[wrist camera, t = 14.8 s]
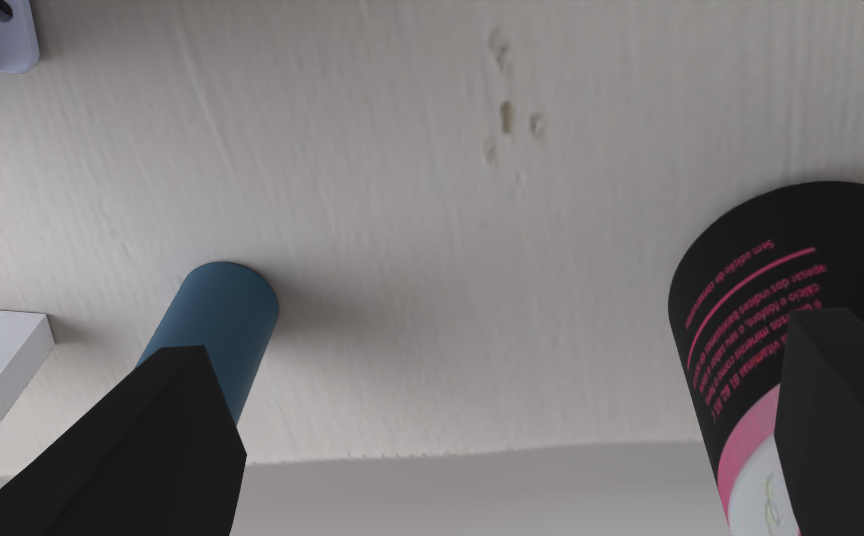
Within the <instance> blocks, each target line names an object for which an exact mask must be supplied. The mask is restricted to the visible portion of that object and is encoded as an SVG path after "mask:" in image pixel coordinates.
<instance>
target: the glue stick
mask: <svg viewBox="0 0 864 536" xmlns="http://www.w3.org/2000/svg"><path fill="white" fill-rule="evenodd" d="M277 318H278V302H277V299H276V296H275V294H274V292H273V290H272V289H271V287H270V286H269V285H268V284H267V282H266V281H265V280H264V279H263V278H261V277H260V276H259V275H257V274H256V273H255V272H253V271H251V270H249V269H247V268H245V267H242V266H239V265H236V264H232V263H224V262H217V263H210V264H206V265H203V266H200V267H198V268H196V269H195V270H193V271H192V272H191V273H190V274H189V275H188V276H187V277H186V279H185V280H184V282H183V284H182V285H181V287H180V289H179V291H178V292H177V294H176V296H175V298H174V299H173V301H172V303H171V305H170V306H169V308H168V310H167V312H166V314H165V315H164V317H163V319H162V321H161V322H160V324H159V326H158V328H157V329H156V331H155V333H154V335H153V336H152V338H151V340H150V342H149V344H148V345H147V347H146V349H145V351H144V352H143V354H142V356H141V358H140V359H139V361H138V363H137V365H136V366H135V368H136V367H138V366H139V365H140V364H141V363H142V362H143V361H145V360H146V359H147V358H148V357H149V356H151V355H152V354H153V353H154V352H155V351H157V350H158V349H159V348H160V347H176V346H193V345H205V348H206V350H207V353H208V356H209V358H210V361H211V363H212V366H213V368H214V371H215V374H216V376H217V379H218V381H219V384H220V387H221V389H222V392H223V394H224V397H225V399H226V402H227V405H228V407H229V410H230V412H231V415H232V417H233V420H234V423H235V425H236V426H237V423H238V421H239V418H240V415H241V413H242V410H243V407H244V405H245V402H246V400H247V397H248V394H249V392H250V389H251V386H252V384H253V381H254V379H255V376H256V373H257V371H258V368H259V365H260V363H261V360H262V358H263V355H264V352H265V350H266V347H267V344H268V342H269V339H270V337H271V334H272V331H273V329H274V326H275V323H276V321H277ZM135 368H134V369H135Z"/></svg>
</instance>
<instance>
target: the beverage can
mask: <svg viewBox="0 0 864 536" xmlns="http://www.w3.org/2000/svg"><path fill="white" fill-rule="evenodd" d="M841 307H846V308H847V309H848V310H850V311H851V312H852V313H853V314H854V315H855V316H857V317H858V318H859V319H860V320H861V321H862V322H864V184H861V183H855V182H849V181H812V182H804V183H798V184H793V185H789V186H785V187H781V188H778V189H774V190H771V191H768V192H766V193H763V194H761V195H758V196H756V197H754V198H751V199H749V200H747V201H745V202H743V203H742V204H740V205H738V206H736V207H735V208H733V209H731V210H730V211H728V212H727V213H725V214H724V215H722V216H721V217H720V218H718V219H717V220H716V221H715V222H713V223H712V224H711V225H710V226H709V227H708V228H707V229H705V230H704V231H703V232H702V233H701V234H700V236H699V237H698V238H697V239H696V240H695V241H694V242H693V244H692V245H691V246H690V247H689V249H688V250H687V252H686V253H685V255H684V256H683V258H682V260H681V261H680V263H679V265H678V267H677V269H676V272H675V274H674V277H673V280H672V283H671V287H670V292H669V301H668V313H669V320H670V325H671V329H672V332H673V336H674V339H675V342H676V346H677V349H678V353H679V356H680V360H681V363H682V367H683V370H684V374H685V377H686V380H687V384H688V387H689V391H690V394H691V398H692V401H693V405H694V408H695V412H696V415H697V418H698V422H699V425H700V429H701V432H702V436H703V439H704V443H705V446H706V449H707V453H708V456H709V460H710V463H711V466H712V470H713V474H714V477H715V481H716V484H717V487H718V491H719V494H720V498H721V501H722V505H723V508H724V512H725V515H726V519H727V522H728V526H729V529H730V533H731V536H802V535H801V533H800V530H799V527H798V525H797V522H796V519H795V517H794V514H793V510H792V507H791V503H790V499H789V495H788V492H787V488H786V484H785V480H784V476H783V472H782V468H781V464H780V460H779V456H778V452H777V448H776V443H775V439H774V428H775V420H776V412H777V405H778V397H779V389H780V382H781V374H782V366H783V358H784V351H785V343H786V335H787V328H788V320H789V312H790V310H807V309H824V308H841Z"/></svg>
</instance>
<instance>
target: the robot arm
mask: <svg viewBox="0 0 864 536" xmlns="http://www.w3.org/2000/svg"><path fill="white" fill-rule="evenodd" d="M4 1H6V2H7V3H8V4H9V5H10V7H11V9H12V11H13V17H12V16H9V15H6V14H5V13H4V12H3V11H2V10H1V8H0V72H5V73H15V74H19V73H25V72H27V71H28V70H30V69H31V68H32V67H34V66H35V65H36V64H37V62H38V60H39V46H38V41H37V37H36V32H35V27H34V22H33V17H32V13H31V8H30V3H29V0H4ZM774 439H775V443H776V448H777V452H778V456H779V460H780V464H781V468H782V472H783V476H784V480H785V484H786V488H787V492H788V495H789V499H790V503H791V507H792V510H793V514H794V517H795V519H796V522H797V525H798V527H799V530H800V533H801V535H802V536H864V322H862V321H861V320H860V319H859V318H858V317H857V316H855V315H854V314H853V313H852V312H851V311H850V310H848V309H847V308H846V307H841V308H824V309H807V310H790V312H789V320H788V328H787V335H786V343H785V351H784V358H783V366H782V374H781V382H780V389H779V397H778V405H777V412H776V420H775V428H774ZM246 457H247V454H246V451H245V448H244V446H243V443H242V441H241V438H240V436H239V433H238V430H237V428H236V425H235V423H234V420H233V417H232V415H231V412H230V410H229V407H228V405H227V402H226V399H225V397H224V394H223V392H222V389H221V387H220V384H219V381H218V379H217V376H216V374H215V371H214V368H213V366H212V363H211V361H210V358H209V356H208V353H207V350H206V348H205V345H193V346H176V347H160V348H159V349H158V350H157V351H155V352H154V353H153V354H152V355H151V356H149V357H148V358H147V359H146V360H145V361H143V362H142V363H141V364H140V365H139V366H138V367H136V368H135V369H134V370H133V371H132V372H131V373H130V374H129V375H127V376H126V377H125V378H124V379H123V380H122V381H121V382H120V383H119V384H117V385H116V386H115V387H114V388H113V389H112V390H111V391H110V392H109V393H108V394H107V395H105V396H104V397H103V398H102V399H101V400H100V401H99V402H98V403H97V404H96V405H95V406H93V407H92V408H91V409H90V410H89V411H88V412H87V413H86V414H85V415H84V416H83V417H81V418H80V419H79V420H78V421H77V422H76V423H75V424H74V425H73V426H71V427H70V428H69V429H68V430H67V431H66V432H65V433H64V434H63V435H61V436H60V437H59V438H58V439H57V440H56V441H55V442H54V443H53V444H51V445H50V446H49V447H48V448H47V449H46V450H45V451H44V452H43V453H42V454H40V455H39V456H38V457H37V458H36V459H35V460H34V461H33V462H31V463H30V464H29V465H28V466H27V467H26V468H25V469H23V470H22V471H21V472H20V473H19V474H17V475H16V476H15V477H14V478H13V479H11V480H10V481H9V482H8V483H7V484H6V485H4V486H3V487H2V488H1V489H0V536H229V534H230V531H231V528H232V524H233V520H234V515H235V511H236V507H237V502H238V498H239V493H240V488H241V483H242V478H243V472H244V468H245V462H246Z"/></svg>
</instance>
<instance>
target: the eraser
mask: <svg viewBox="0 0 864 536" xmlns="http://www.w3.org/2000/svg"><path fill="white" fill-rule="evenodd" d="M54 347H55V342H54V339H53V335H52V332H51V329H50V326H49V322H48V319H47V316H46V314H38V313H26V312H13V311H0V423H1V421H2V420H3V419H4V417H5V416H6V414H7V413H8V412H9V410H10V409H11V407H12V406H13V405H14V403H15V402H16V400H17V399H18V397H19V396H20V395H21V393H22V392H23V390H24V389H25V388H26V386H27V385H28V383H29V382H30V381H31V379H32V378H33V376H34V375H35V374H36V372H37V371H38V369H39V368H40V367H41V365H42V364H43V362H44V361H45V360H46V358H47V357H48V355H49V354H50V352H51V351H52V350H53V348H54Z"/></svg>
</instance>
